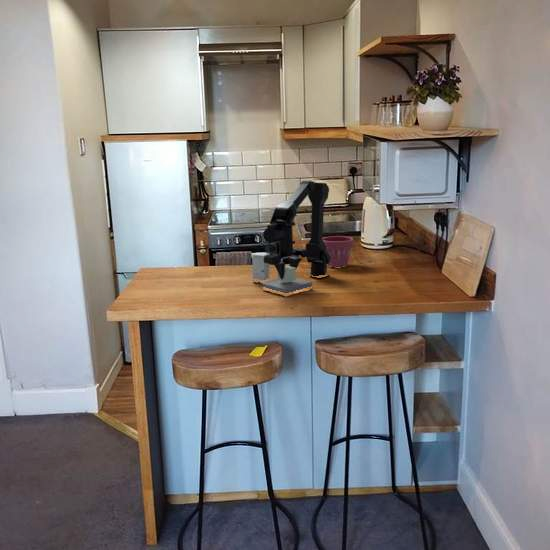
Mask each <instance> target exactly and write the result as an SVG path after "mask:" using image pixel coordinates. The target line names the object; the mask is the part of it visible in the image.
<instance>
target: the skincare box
mask: <svg viewBox="0 0 550 550" xmlns="http://www.w3.org/2000/svg"><path fill="white" fill-rule="evenodd" d="M266 255H270V254H269V253H266V252H265V253H263V252H255V253H253V254H252V255H251V260H252V261H251V262H252V263H251V264H252V267H251V269H252V280H253V279H259V280H266V279H268V278H269V279H270V264H267V263H264V257H265V256H266Z"/></svg>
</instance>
